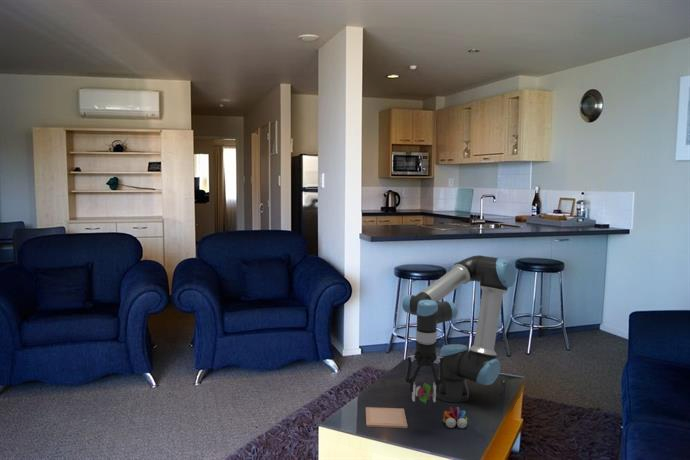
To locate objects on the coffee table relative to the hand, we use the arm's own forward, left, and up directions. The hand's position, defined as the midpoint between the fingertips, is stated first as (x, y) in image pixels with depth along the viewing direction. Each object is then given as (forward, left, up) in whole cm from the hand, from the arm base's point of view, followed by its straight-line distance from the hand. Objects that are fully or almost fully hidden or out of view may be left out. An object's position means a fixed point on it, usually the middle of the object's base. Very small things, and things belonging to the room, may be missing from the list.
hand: (423, 400), depth 203 cm
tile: (+13, -11, -13) cm, 22 cm away
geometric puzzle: (0, 0, 0) cm, 1 cm away
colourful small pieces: (-14, -8, -13) cm, 21 cm away
